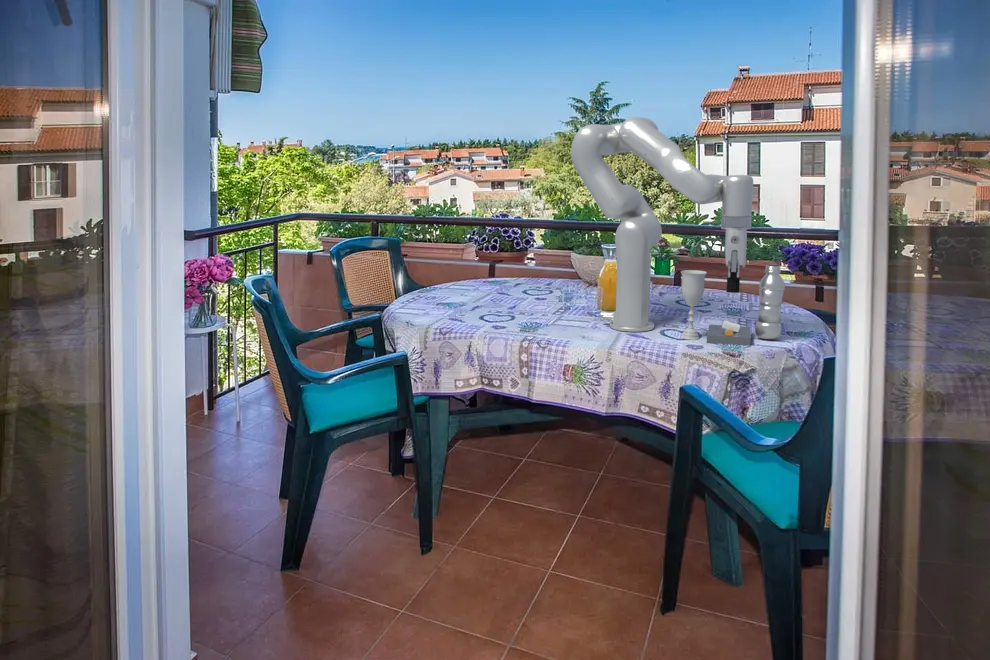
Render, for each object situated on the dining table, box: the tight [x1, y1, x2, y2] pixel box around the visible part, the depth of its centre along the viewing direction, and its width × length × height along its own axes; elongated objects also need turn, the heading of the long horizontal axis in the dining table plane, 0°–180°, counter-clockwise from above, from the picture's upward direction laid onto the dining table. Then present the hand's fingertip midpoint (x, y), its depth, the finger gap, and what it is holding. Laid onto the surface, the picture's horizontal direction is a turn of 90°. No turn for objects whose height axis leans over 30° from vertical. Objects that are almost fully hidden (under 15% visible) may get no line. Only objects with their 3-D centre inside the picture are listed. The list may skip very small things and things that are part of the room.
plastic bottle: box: [754, 263, 786, 340], centre depth 203 cm, size 6×7×20 cm
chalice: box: [680, 269, 708, 341], centre depth 206 cm, size 7×7×18 cm
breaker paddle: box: [721, 319, 740, 332], centre depth 206 cm, size 4×3×1 cm
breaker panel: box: [706, 321, 752, 346], centre depth 206 cm, size 11×14×3 cm
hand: (732, 292), depth 204 cm, fingers closed
